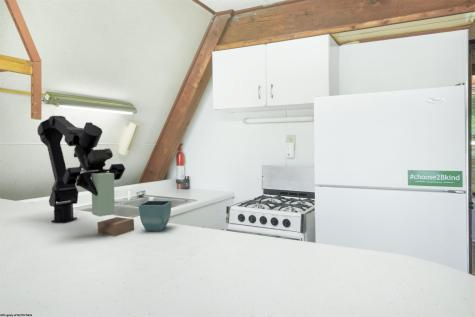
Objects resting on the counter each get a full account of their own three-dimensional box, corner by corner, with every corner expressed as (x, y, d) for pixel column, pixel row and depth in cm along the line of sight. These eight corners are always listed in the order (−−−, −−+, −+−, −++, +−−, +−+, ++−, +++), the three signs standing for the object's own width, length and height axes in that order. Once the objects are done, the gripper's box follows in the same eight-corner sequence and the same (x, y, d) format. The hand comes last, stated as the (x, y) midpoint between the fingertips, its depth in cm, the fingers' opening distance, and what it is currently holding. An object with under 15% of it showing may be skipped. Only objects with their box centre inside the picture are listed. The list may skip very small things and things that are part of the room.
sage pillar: (92, 214, 111) (91, 173, 111) (107, 212, 115) (106, 172, 114) (99, 216, 108) (98, 174, 107) (114, 214, 112) (114, 173, 111)
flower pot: (173, 226, 121) (172, 200, 121) (165, 232, 113) (164, 205, 112) (148, 226, 122) (147, 200, 122) (138, 232, 114) (137, 205, 113)
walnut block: (98, 234, 114) (97, 222, 114) (116, 228, 121) (116, 217, 121) (115, 237, 110) (115, 224, 110) (134, 230, 117) (133, 219, 117)
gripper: (64, 141, 106) (82, 180, 99) (121, 140, 120) (140, 173, 113) (56, 166, 112) (72, 204, 105) (111, 162, 126) (128, 195, 119)
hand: (105, 193), depth 110 cm, fingers closed on sage pillar, 5 cm apart
